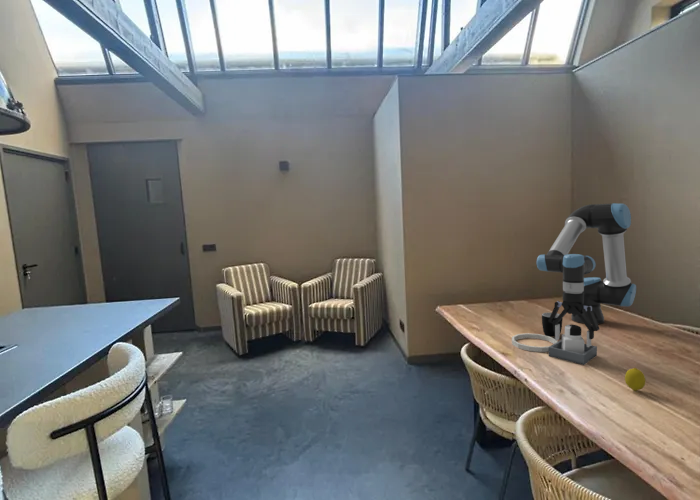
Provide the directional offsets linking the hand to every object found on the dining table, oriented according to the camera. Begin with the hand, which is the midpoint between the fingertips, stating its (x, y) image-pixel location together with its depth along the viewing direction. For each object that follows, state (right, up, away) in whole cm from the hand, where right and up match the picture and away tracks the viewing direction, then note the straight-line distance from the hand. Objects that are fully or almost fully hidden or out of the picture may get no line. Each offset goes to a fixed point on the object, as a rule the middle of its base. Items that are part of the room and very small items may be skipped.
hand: (572, 342), depth 162 cm
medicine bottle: (0, -5, +1) cm, 5 cm away
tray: (0, -6, +1) cm, 6 cm away
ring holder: (-8, -5, +16) cm, 19 cm away
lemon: (+3, -9, -31) cm, 33 cm away
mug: (+6, -3, +29) cm, 29 cm away
